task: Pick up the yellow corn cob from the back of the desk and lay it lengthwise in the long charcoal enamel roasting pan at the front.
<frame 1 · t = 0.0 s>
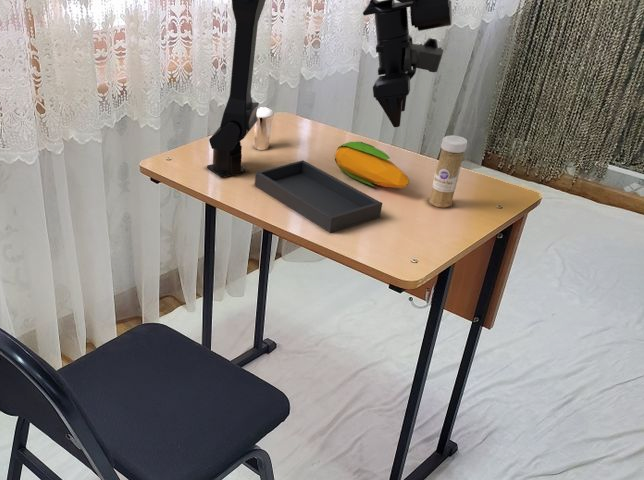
hand: (399, 118, 143), 15 cm above the table, tool pointing down, fingers open, 9 cm apart
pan: (314, 200, 149), on the table
milkshake: (259, 148, 172), on the table
corn: (370, 183, 157), on the table
sprinkles bottle: (440, 204, 148), on the table
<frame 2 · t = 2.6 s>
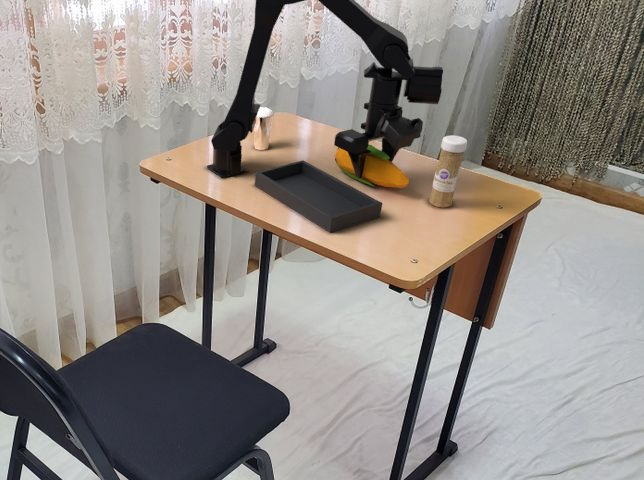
hand: (371, 174, 155), 2 cm above the table, tool pointing down, fingers closed on corn, 7 cm apart
corn: (370, 183, 157), on the table, touching gripper
everything else where it was.
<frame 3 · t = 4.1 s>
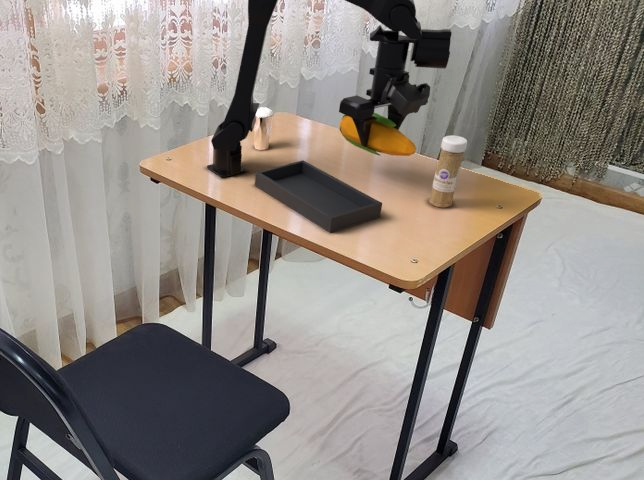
hand: (377, 143, 151), 9 cm above the table, tool pointing down, fingers closed on corn, 7 cm apart
corn: (376, 152, 153), point 7 cm above the table, touching gripper
everything else where it was.
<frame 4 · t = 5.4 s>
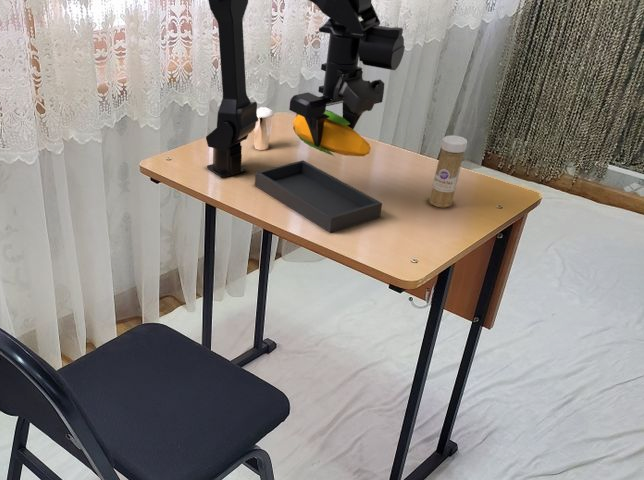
hand: (331, 142, 144), 12 cm above the table, tool pointing down, fingers closed on corn, 7 cm apart
corn: (330, 152, 145), point 10 cm above the table, touching gripper
everything else where it was.
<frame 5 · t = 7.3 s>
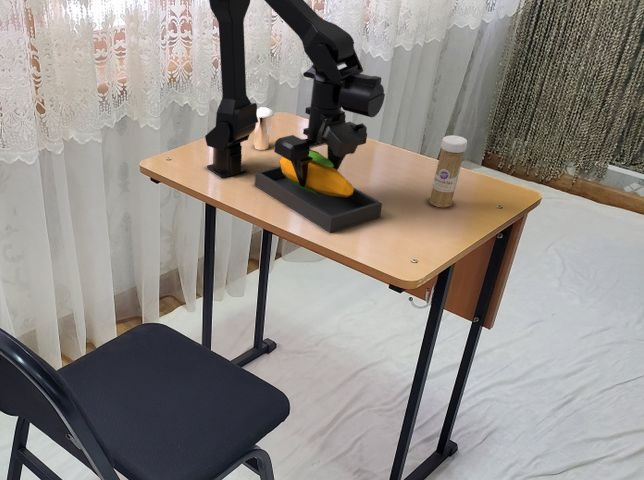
hand: (316, 182, 147), 4 cm above the table, tool pointing down, fingers closed on corn, 7 cm apart
corn: (316, 191, 148), point 2 cm above the table, touching gripper
everything else where it was.
when the fingers open (2 cm above the table, at t = 8.4 s): corn stays where it is, resting on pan.
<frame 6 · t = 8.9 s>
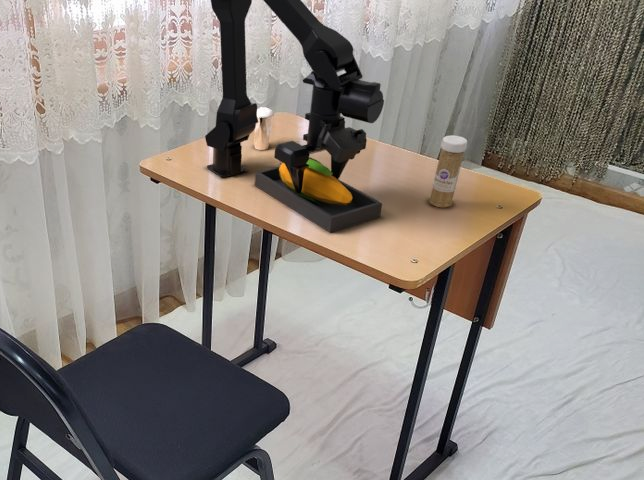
hand: (316, 187, 148), 3 cm above the table, tool pointing down, fingers open, 9 cm apart
corn: (315, 199, 149), resting on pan
everything else where it was.
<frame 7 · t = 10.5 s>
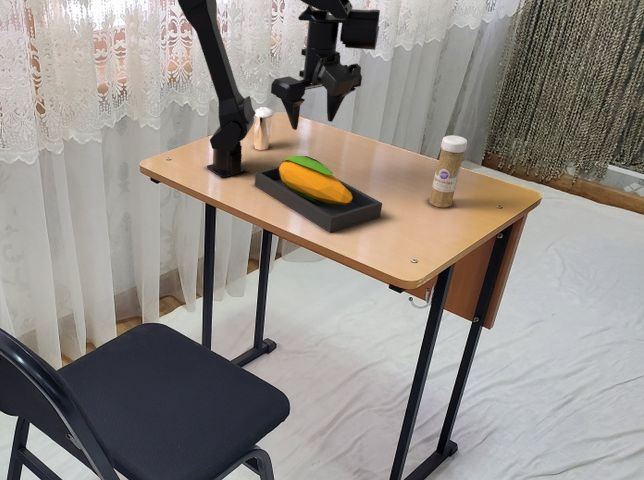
hand: (312, 125, 150), 12 cm above the table, tool pointing down, fingers open, 9 cm apart
nothing on the table moved.
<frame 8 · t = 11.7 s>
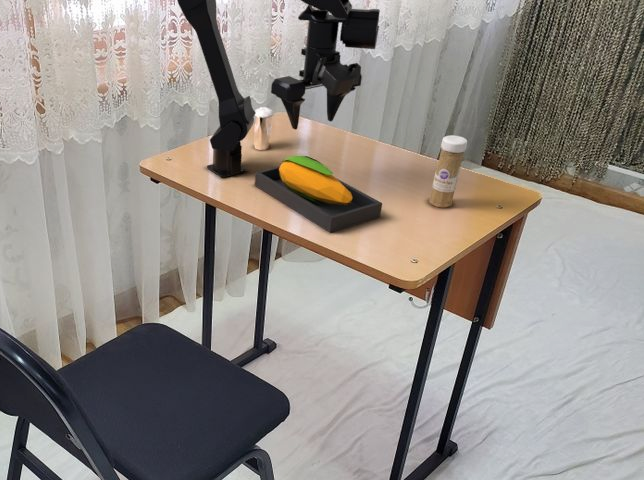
hand: (312, 124, 150), 12 cm above the table, tool pointing down, fingers open, 9 cm apart
nothing on the table moved.
at the end: corn inside the target area in the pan (0.1 cm from its centre), point 0.3 cm above the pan's base; the gripper is holding nothing; corn touching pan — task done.
